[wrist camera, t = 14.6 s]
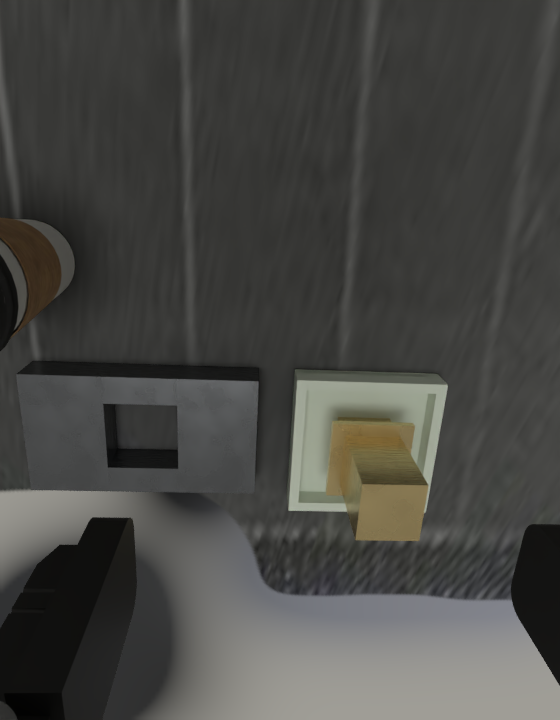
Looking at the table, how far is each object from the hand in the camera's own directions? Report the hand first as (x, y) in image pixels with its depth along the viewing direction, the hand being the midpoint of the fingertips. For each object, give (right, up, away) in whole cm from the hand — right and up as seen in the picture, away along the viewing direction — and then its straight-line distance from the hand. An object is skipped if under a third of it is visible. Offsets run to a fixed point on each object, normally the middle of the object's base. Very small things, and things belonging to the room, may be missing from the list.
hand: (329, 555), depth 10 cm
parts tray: (+6, -3, +33) cm, 34 cm away
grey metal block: (-12, -1, +32) cm, 34 cm away
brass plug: (+6, -3, +33) cm, 33 cm away
